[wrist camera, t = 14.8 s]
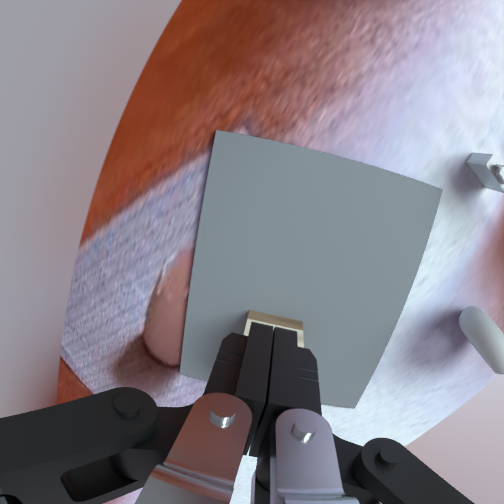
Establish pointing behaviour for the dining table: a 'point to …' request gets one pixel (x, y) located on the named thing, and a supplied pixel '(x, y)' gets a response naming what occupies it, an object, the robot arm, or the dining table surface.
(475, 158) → the lighter
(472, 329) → the donut
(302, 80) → the dining table surface
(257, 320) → the block
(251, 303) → the mat
